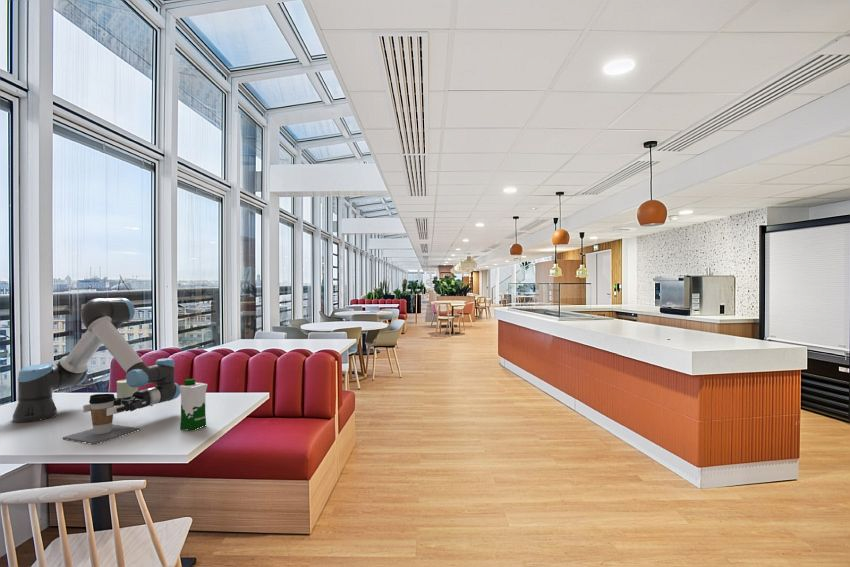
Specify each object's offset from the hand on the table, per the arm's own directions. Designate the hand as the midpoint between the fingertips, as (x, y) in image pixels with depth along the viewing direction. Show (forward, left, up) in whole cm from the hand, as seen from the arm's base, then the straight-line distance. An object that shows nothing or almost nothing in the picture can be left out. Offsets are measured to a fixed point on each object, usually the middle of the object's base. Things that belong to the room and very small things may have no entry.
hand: (95, 410), depth 175 cm
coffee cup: (0, +3, -10) cm, 10 cm away
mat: (0, +3, -10) cm, 11 cm away
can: (-38, +41, -11) cm, 57 cm away
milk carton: (+27, +22, -10) cm, 36 cm away
